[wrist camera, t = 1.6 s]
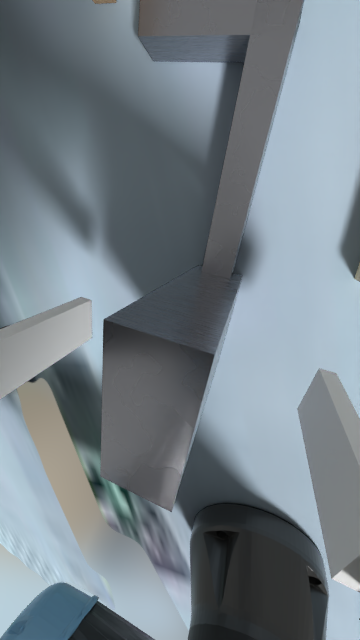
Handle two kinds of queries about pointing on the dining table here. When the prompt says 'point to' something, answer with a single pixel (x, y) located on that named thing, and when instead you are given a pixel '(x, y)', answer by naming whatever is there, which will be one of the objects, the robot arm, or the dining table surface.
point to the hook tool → (220, 257)
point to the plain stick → (358, 273)
